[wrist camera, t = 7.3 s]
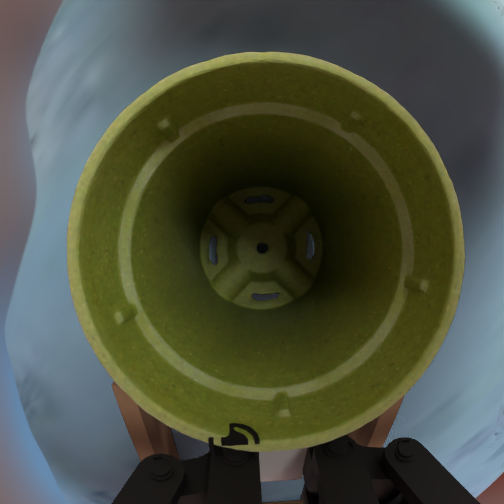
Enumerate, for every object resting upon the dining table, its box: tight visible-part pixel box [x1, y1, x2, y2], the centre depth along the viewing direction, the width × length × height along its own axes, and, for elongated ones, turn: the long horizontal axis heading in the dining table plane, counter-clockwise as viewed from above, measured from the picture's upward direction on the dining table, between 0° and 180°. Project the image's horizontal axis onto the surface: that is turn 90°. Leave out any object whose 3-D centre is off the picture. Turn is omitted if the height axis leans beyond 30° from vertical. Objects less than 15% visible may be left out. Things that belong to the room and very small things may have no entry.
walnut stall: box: [112, 381, 404, 504], centre depth 17 cm, size 22×15×4 cm
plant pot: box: [67, 52, 465, 452], centre depth 10 cm, size 9×9×9 cm
